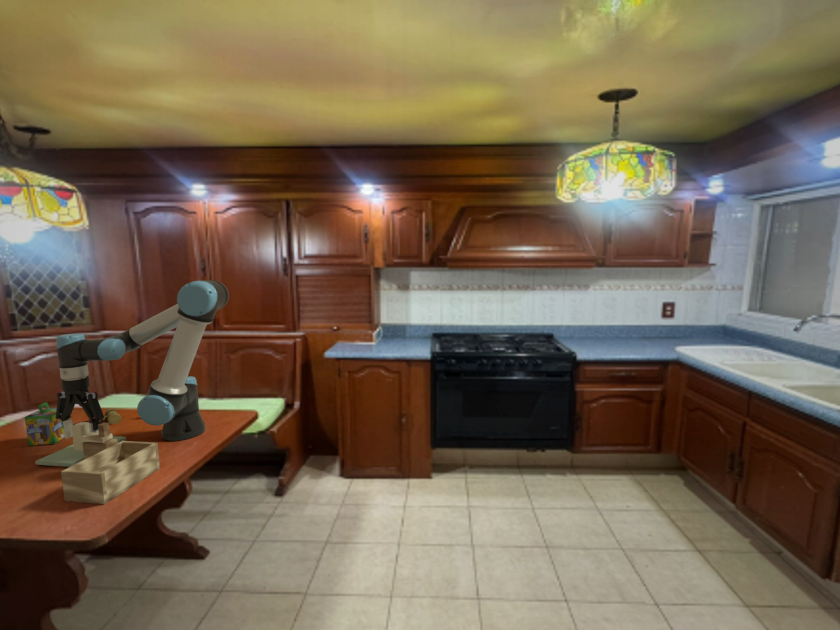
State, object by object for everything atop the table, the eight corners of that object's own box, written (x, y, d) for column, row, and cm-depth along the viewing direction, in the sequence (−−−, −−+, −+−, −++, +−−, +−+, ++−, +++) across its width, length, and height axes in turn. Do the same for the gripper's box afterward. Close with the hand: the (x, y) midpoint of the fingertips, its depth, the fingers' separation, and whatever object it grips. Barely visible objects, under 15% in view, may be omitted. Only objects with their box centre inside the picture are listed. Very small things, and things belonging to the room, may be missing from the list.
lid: (94, 440, 155) (91, 412, 154) (126, 442, 153) (123, 414, 152) (36, 467, 135) (31, 435, 133) (72, 469, 133) (68, 437, 131)
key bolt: (91, 437, 133) (89, 420, 132) (112, 438, 132) (110, 421, 131) (81, 441, 129) (79, 425, 129) (103, 442, 128) (101, 426, 128)
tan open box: (100, 464, 135) (96, 436, 134) (159, 468, 132) (157, 439, 131) (36, 498, 116) (31, 465, 114) (104, 504, 112) (100, 470, 111)
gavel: (55, 430, 158) (53, 423, 165) (58, 440, 158) (56, 433, 165) (120, 412, 172) (116, 407, 179) (122, 422, 173) (118, 416, 180)
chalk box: (54, 444, 151) (50, 407, 150) (27, 446, 150) (22, 408, 148) (71, 434, 160) (67, 399, 159) (45, 436, 159) (41, 400, 157)
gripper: (36, 379, 138) (44, 441, 141) (92, 381, 135) (100, 444, 138) (58, 374, 146) (65, 432, 149) (112, 375, 143) (119, 435, 145)
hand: (82, 438), depth 143 cm, fingers open, 10 cm apart
